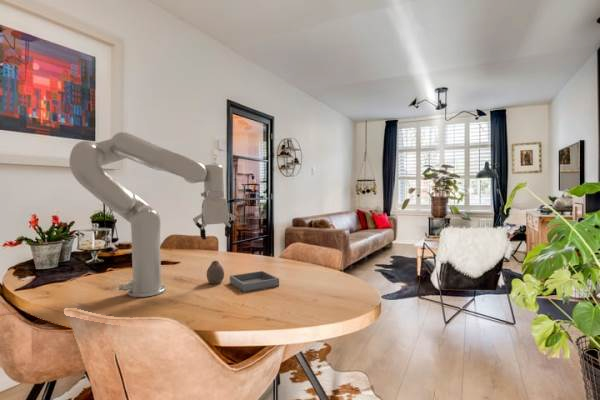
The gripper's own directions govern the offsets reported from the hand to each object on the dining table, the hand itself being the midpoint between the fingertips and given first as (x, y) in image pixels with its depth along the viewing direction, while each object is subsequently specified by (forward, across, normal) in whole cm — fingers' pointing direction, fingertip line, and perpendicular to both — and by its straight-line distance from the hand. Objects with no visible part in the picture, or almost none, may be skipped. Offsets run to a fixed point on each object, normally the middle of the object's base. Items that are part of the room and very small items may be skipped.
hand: (215, 237), depth 134 cm
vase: (+18, -1, 0) cm, 19 cm away
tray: (+18, +11, -11) cm, 24 cm away
